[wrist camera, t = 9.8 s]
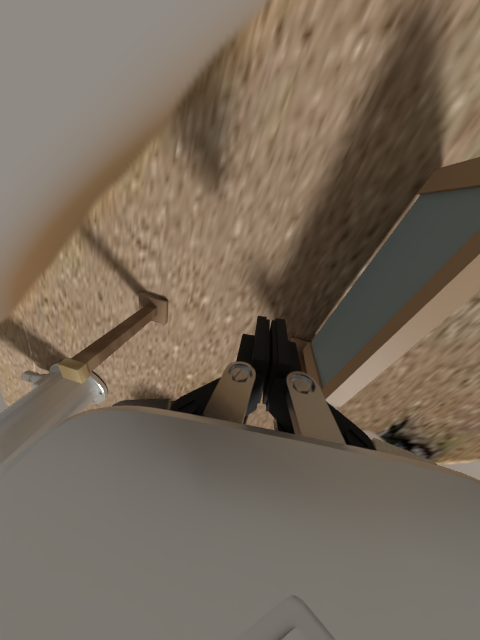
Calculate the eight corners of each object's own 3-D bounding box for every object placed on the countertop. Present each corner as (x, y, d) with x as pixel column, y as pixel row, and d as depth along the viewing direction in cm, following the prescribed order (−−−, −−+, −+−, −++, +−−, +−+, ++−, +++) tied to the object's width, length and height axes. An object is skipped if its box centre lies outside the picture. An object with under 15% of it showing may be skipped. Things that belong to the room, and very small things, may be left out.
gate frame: (326, 347, 25) (372, 471, 13) (309, 371, 27) (335, 492, 16) (141, 288, 25) (19, 356, 13) (142, 317, 28) (42, 395, 16)
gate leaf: (313, 354, 24) (329, 415, 17) (302, 349, 24) (314, 410, 17) (453, 177, 14) (664, 134, 6) (434, 169, 14) (624, 116, 6)
